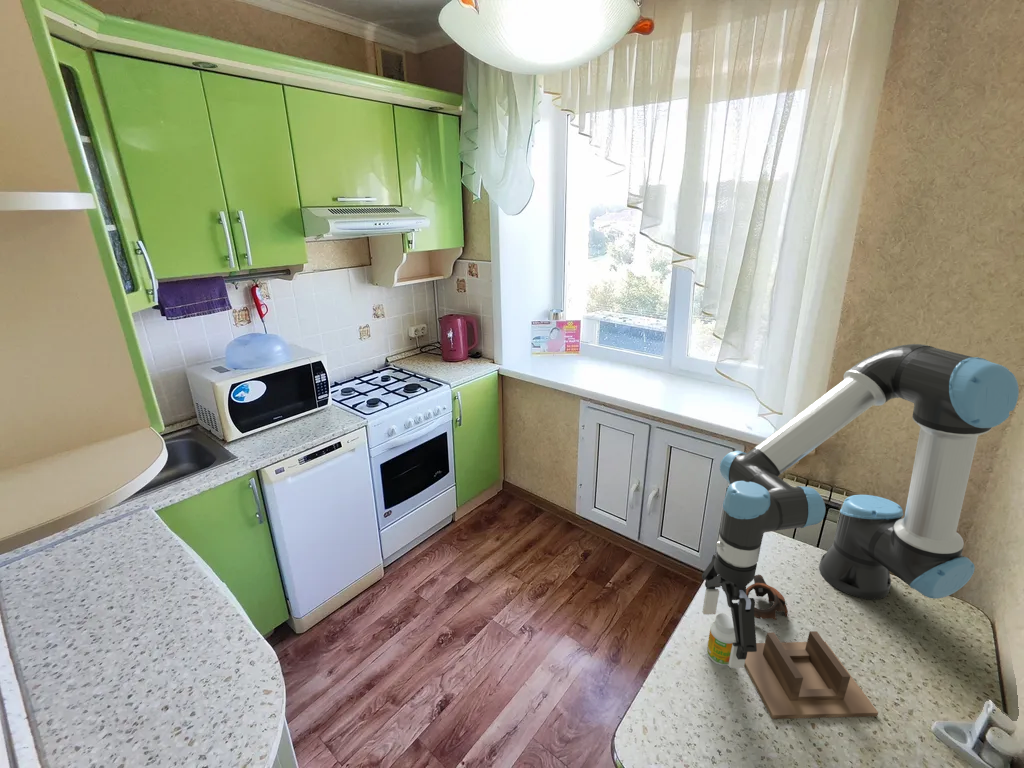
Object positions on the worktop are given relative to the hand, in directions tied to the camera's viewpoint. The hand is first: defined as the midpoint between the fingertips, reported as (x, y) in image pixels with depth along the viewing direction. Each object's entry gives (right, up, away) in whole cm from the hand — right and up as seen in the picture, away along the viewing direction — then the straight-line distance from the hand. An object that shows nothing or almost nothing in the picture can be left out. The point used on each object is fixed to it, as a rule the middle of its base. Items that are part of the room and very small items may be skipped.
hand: (721, 638), depth 102 cm
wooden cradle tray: (+14, -6, -4) cm, 16 cm away
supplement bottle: (0, -5, +2) cm, 5 cm away
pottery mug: (+16, 0, +14) cm, 21 cm away
